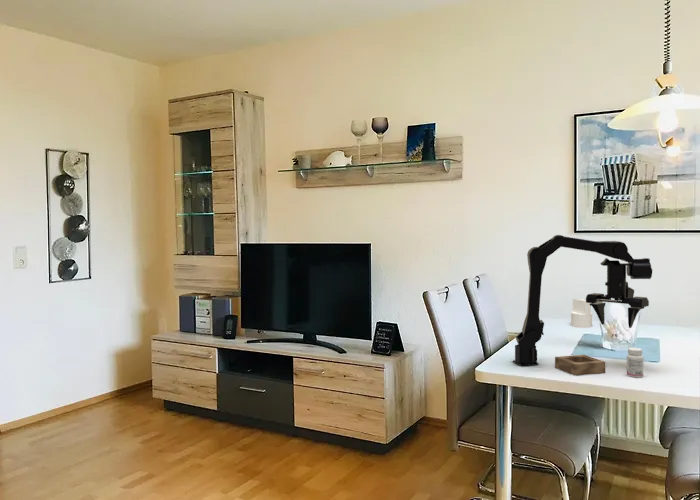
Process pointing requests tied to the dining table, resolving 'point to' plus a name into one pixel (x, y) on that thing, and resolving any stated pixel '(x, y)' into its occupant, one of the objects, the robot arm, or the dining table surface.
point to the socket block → (580, 364)
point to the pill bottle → (635, 362)
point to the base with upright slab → (581, 314)
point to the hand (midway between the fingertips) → (616, 326)
